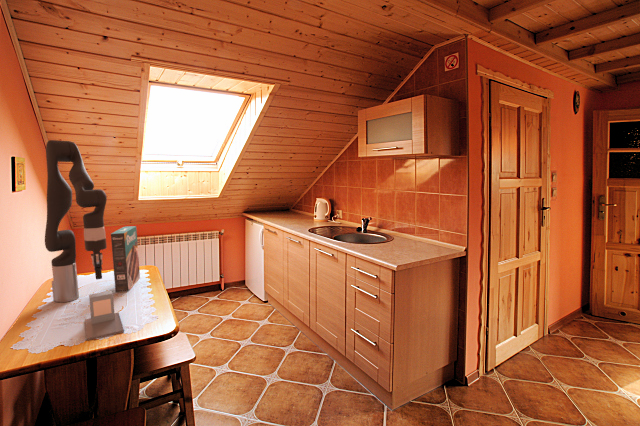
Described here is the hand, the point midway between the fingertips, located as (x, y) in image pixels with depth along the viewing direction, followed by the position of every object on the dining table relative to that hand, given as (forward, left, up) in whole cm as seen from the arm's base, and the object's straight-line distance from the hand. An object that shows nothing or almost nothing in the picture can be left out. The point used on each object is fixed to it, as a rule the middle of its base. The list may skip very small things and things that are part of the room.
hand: (98, 278), depth 148 cm
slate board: (+8, -9, -16) cm, 20 cm away
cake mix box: (-14, +39, -17) cm, 45 cm away
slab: (+4, -5, -16) cm, 17 cm away
